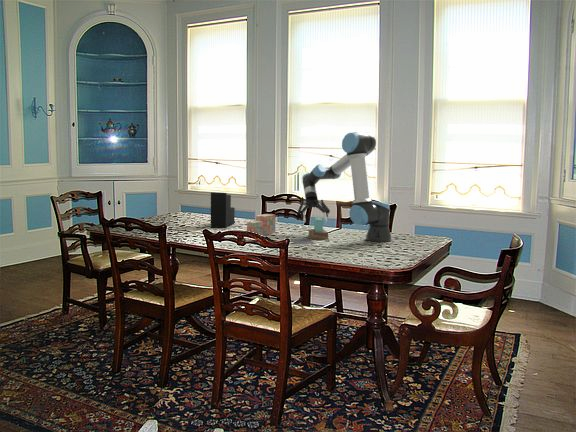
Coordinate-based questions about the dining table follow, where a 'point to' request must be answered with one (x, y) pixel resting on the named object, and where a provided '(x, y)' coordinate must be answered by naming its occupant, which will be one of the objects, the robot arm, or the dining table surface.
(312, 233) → the brown hollow block
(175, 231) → the dining table surface
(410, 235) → the dining table surface
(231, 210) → the bookend
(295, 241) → the mat
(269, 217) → the stack of blocks
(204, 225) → the dining table surface
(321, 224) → the tile
